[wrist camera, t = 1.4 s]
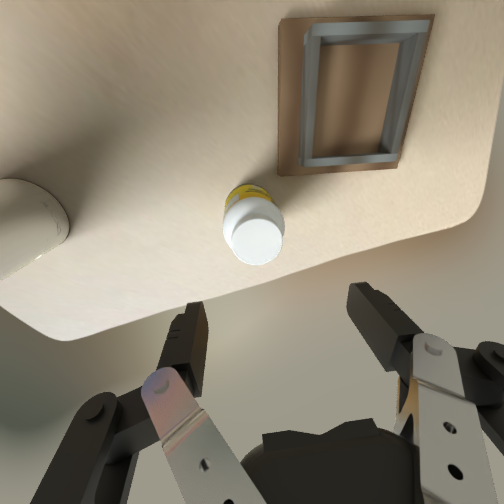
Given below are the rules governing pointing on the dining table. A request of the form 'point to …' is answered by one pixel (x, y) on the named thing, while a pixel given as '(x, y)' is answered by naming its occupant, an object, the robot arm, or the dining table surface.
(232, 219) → the pill bottle
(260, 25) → the dining table surface
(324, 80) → the collar board
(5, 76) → the dining table surface
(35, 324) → the dining table surface
